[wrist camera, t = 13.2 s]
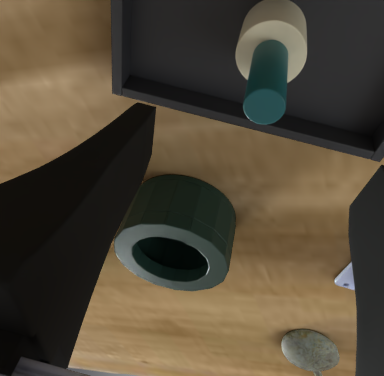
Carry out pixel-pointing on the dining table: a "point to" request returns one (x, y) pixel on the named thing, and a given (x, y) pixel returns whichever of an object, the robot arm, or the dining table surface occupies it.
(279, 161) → the dining table surface
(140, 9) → the tray
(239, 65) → the teal peg on base
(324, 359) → the soupspoon
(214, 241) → the jar
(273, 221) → the dining table surface
